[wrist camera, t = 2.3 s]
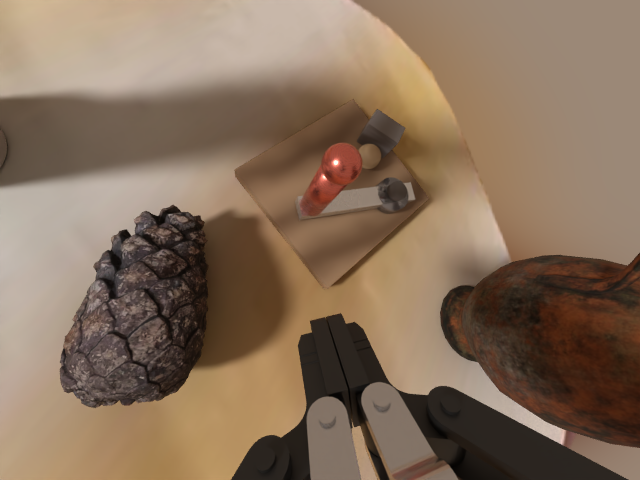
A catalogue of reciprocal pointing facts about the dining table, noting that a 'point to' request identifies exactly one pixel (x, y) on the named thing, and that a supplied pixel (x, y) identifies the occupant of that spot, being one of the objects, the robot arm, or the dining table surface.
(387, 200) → the lever
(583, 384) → the pitcher
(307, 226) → the base
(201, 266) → the pine cone
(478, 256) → the dining table surface
